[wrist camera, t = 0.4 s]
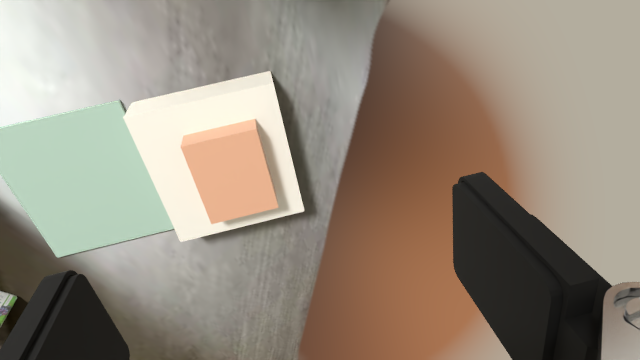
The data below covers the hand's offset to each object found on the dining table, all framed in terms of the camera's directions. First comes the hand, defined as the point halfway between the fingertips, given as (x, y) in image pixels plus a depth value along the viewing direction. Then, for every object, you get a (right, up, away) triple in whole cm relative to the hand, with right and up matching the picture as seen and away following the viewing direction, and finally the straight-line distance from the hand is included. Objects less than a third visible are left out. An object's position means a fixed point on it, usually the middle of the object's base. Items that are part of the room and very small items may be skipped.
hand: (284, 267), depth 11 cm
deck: (-10, +5, +35) cm, 37 cm away
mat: (-24, +2, +34) cm, 42 cm away
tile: (-8, +3, +32) cm, 33 cm away
